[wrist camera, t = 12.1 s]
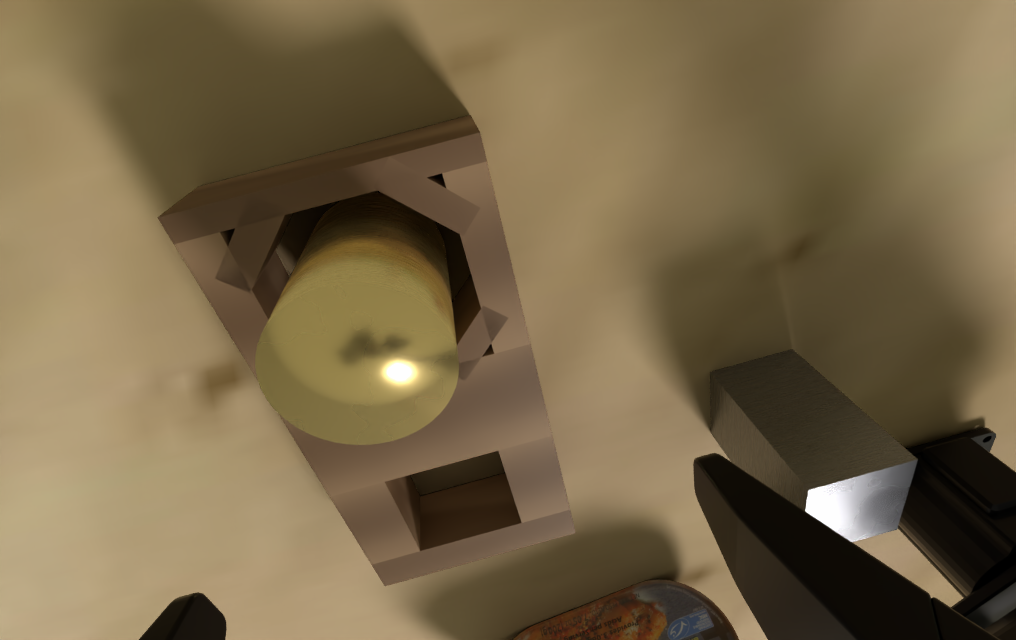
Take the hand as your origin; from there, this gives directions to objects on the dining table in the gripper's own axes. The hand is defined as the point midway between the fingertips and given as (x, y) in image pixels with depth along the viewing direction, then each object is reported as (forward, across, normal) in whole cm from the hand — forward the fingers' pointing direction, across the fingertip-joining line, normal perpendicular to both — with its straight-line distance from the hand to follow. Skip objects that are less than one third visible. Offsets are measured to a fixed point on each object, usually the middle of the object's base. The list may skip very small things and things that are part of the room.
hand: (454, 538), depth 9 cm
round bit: (+12, +2, -1) cm, 12 cm away
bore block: (+12, +2, +4) cm, 12 cm away
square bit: (+12, -12, +11) cm, 20 cm away
